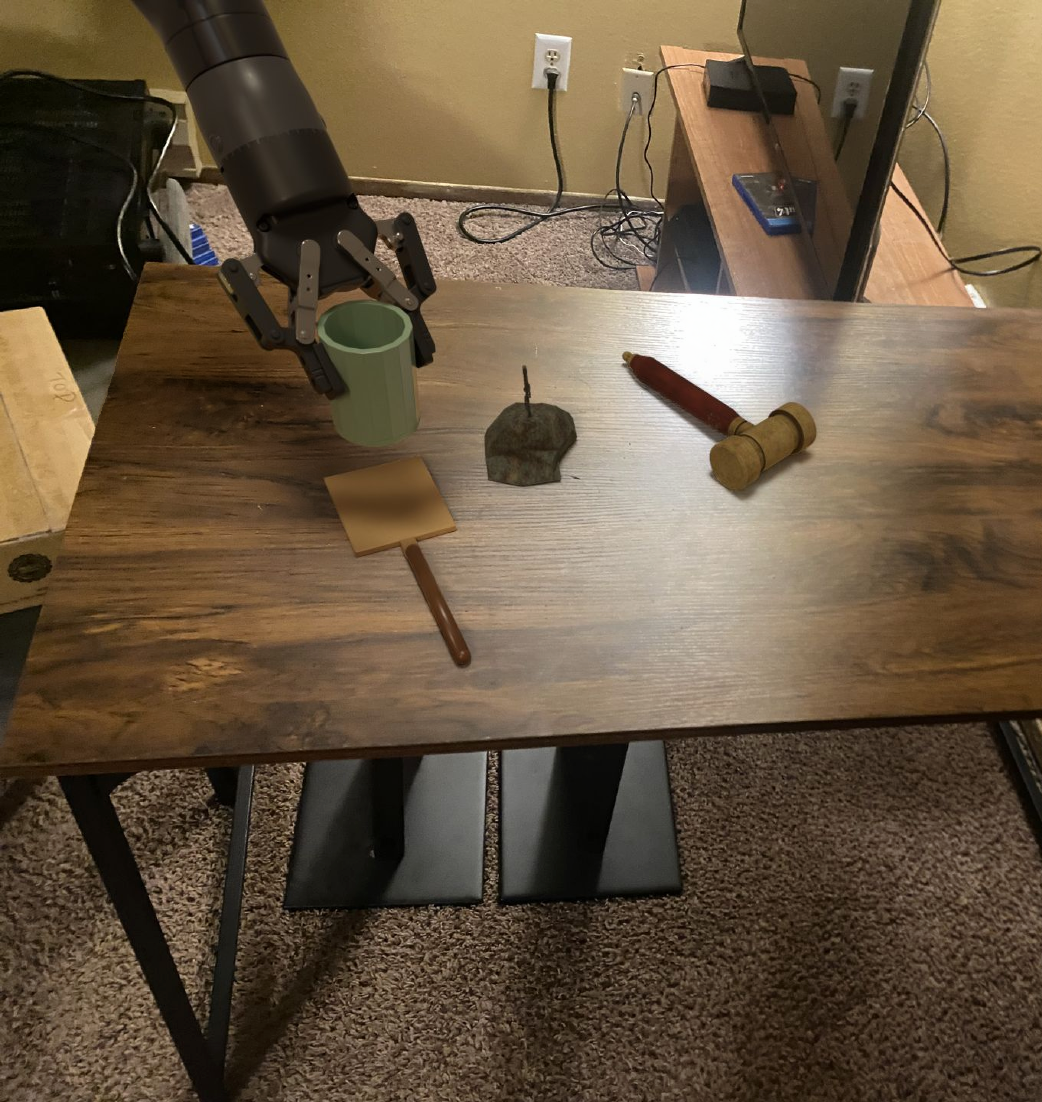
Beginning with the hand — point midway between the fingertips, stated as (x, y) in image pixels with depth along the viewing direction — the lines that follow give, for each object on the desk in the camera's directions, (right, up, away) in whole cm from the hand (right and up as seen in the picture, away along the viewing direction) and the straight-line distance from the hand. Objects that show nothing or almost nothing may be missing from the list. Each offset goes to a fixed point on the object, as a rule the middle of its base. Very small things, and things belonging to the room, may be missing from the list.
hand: (382, 380), depth 70 cm
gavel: (+21, +1, +25) cm, 33 cm away
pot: (-2, -2, +4) cm, 5 cm away
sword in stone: (+7, -3, +18) cm, 20 cm away
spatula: (0, -13, +7) cm, 15 cm away
